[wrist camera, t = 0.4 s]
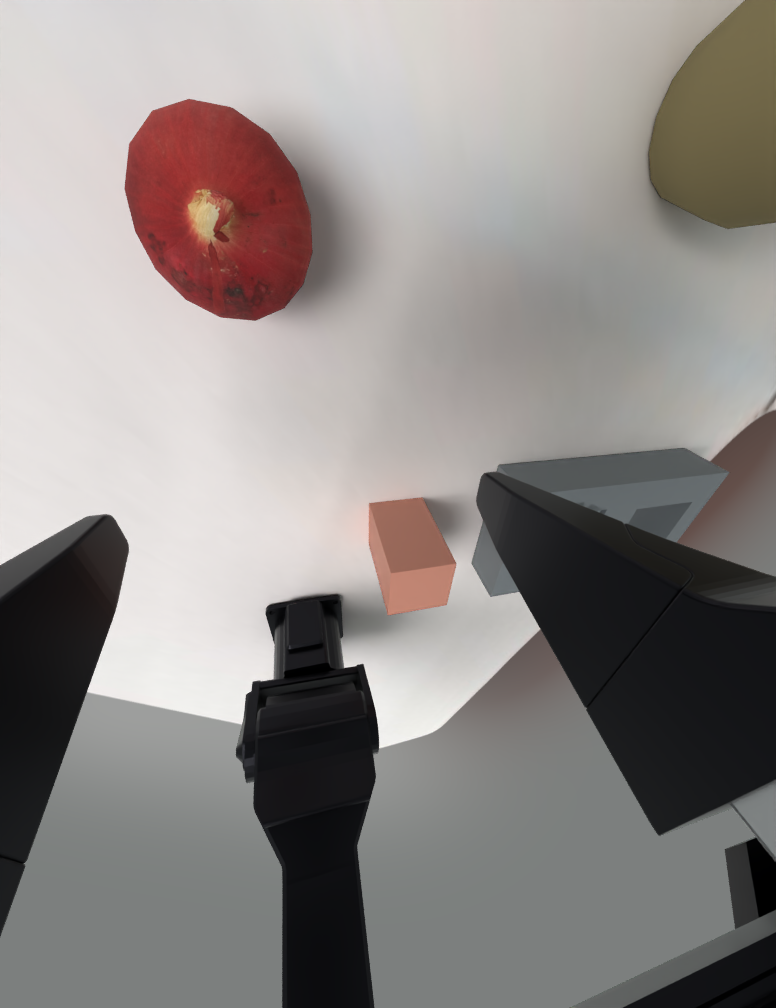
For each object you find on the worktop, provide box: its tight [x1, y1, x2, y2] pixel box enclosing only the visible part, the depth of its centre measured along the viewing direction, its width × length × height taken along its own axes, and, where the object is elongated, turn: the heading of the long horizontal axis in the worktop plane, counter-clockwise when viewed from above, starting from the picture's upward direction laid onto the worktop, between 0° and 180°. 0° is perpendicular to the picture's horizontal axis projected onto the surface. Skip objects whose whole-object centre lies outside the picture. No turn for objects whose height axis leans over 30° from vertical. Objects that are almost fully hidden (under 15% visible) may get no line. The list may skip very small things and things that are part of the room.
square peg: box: [369, 498, 456, 615], centre depth 25 cm, size 4×4×7 cm
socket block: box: [472, 448, 729, 597], centre depth 30 cm, size 11×18×4 cm, turn 88°
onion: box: [125, 99, 312, 321], centre depth 12 cm, size 6×6×8 cm
